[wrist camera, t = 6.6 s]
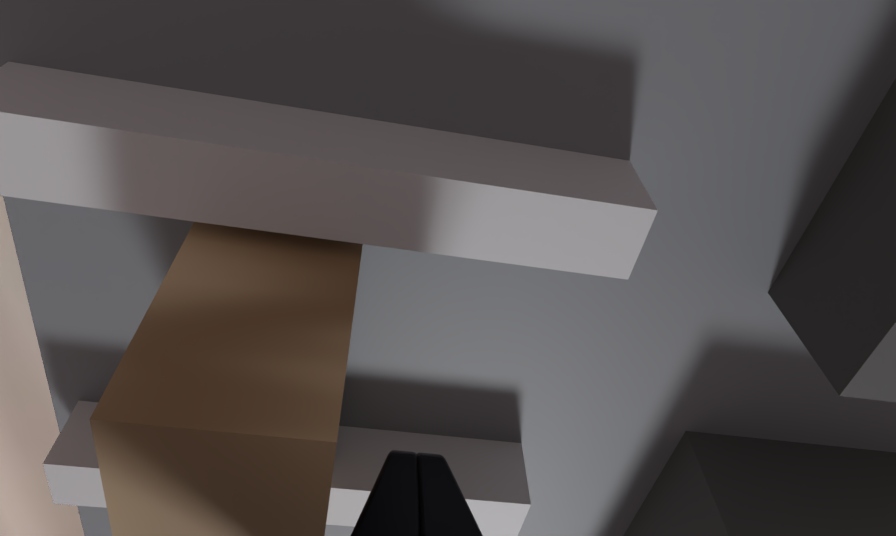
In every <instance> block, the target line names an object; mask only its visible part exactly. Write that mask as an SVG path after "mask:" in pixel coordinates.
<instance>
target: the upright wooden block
mask: <svg viewBox="0 0 896 536" xmlns="http://www.w3.org/2000/svg"><path fill="white" fill-rule="evenodd" d="M362 246H363V244H358V243H351V242H343V241H336V240H328V239H321V238H313V237H306V236H298V235H291V234H283V233H276V232H268V231H261V230H254V229H246V228H239V227H231V226H224V225H216V224H209V223H201V222H194V223H193V225H192V227H191V229H190V231H189V233H188V235H187V236H186V238H185V240H184V242H183V244H182V246H181V248H180V250H179V252H178V253H177V255H176V257H175V259H174V261H173V263H172V265H171V267H170V269H169V270H168V272H167V274H166V276H165V278H164V280H163V282H162V284H161V285H160V287H159V289H158V291H157V293H156V295H155V297H154V299H153V301H152V302H151V304H150V306H149V308H148V310H147V312H146V314H145V316H144V317H143V319H142V321H141V323H140V325H139V327H138V329H137V331H136V333H135V334H134V336H133V338H132V340H131V342H130V344H129V346H128V348H127V350H126V351H125V353H124V355H123V357H122V359H121V361H120V363H119V365H118V366H117V368H116V370H115V372H114V374H113V376H112V378H111V380H110V382H109V383H108V385H107V387H106V389H105V391H104V393H103V395H102V397H101V398H100V400H99V402H98V404H97V406H96V408H95V410H94V412H93V414H92V415H91V417H90V419H89V420H90V425H91V430H92V435H93V440H94V445H95V450H96V455H97V460H98V465H99V470H100V475H101V481H102V486H103V491H104V496H105V501H106V506H107V511H108V516H109V521H110V526H111V531H112V536H325V528H326V521H327V513H328V506H329V498H330V491H331V483H332V475H333V468H334V460H335V453H336V445H337V437H338V430H339V422H340V414H341V407H342V399H343V391H344V384H345V376H346V369H347V361H348V353H349V346H350V338H351V330H352V323H353V315H354V307H355V300H356V292H357V284H358V277H359V269H360V261H361V254H362Z"/></svg>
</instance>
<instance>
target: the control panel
mask: <svg viewBox="0 0 896 536" xmlns="http://www.w3.org/2000/svg"><path fill="white" fill-rule="evenodd" d="M0 196H3V198H4V202H5V206H6V210H7V214H8V218H9V223H10V227H11V231H12V235H13V239H14V243H15V248H16V252H17V256H18V260H19V264H20V268H21V273H22V277H23V281H24V285H25V289H26V293H27V298H28V302H29V306H30V310H31V314H32V318H33V323H34V327H35V331H36V335H37V339H38V343H39V348H40V352H41V356H42V360H43V364H44V368H45V373H46V377H47V381H48V385H49V389H50V393H51V398H52V402H53V406H54V410H55V414H56V418H57V423H58V427H59V431H60V434H59V436H58V438H57V440H56V441H55V443H54V445H53V447H52V449H51V450H50V452H49V454H48V456H47V457H46V459H45V461H44V463H43V466H44V470H45V473H46V477H47V481H48V484H49V488H50V492H51V495H52V499H53V503H54V504H63V505H77V506H78V510H79V514H80V518H81V523H82V527H83V531H84V535H85V536H112V531H111V526H110V521H109V516H108V511H107V506H106V501H105V496H104V491H103V486H102V481H101V475H100V470H99V465H98V460H97V455H96V450H95V445H94V440H93V435H92V430H91V425H90V420H89V419H90V417H91V415H92V414H93V412H94V410H95V408H96V406H97V404H98V402H99V400H100V398H101V397H102V395H103V393H104V391H105V389H106V387H107V385H108V383H109V382H110V380H111V378H112V376H113V374H114V372H115V370H116V368H117V366H118V365H119V363H120V361H121V359H122V357H123V355H124V353H125V351H126V350H127V348H128V346H129V344H130V342H131V340H132V338H133V336H134V334H135V333H136V331H137V329H138V327H139V325H140V323H141V321H142V319H143V317H144V316H145V314H146V312H147V310H148V308H149V306H150V304H151V302H152V301H153V299H154V297H155V295H156V293H157V291H158V289H159V287H160V285H161V284H162V282H163V280H164V278H165V276H166V274H167V272H168V270H169V269H170V267H171V265H172V263H173V261H174V259H175V257H176V255H177V253H178V252H179V250H180V248H181V246H182V244H183V242H184V240H185V238H186V236H187V235H188V233H189V231H190V229H191V227H192V225H193V223H194V222H201V223H209V224H216V225H224V226H231V227H239V228H246V229H254V230H261V231H268V232H276V233H283V234H291V235H298V236H306V237H313V238H321V239H328V240H336V241H343V242H351V243H358V244H363V246H362V254H361V261H360V269H359V277H358V284H357V292H356V300H355V307H354V315H353V323H352V330H351V338H350V346H349V353H348V361H347V369H346V376H345V384H344V391H343V399H342V407H341V414H340V422H339V430H338V437H337V445H336V453H335V460H334V468H333V475H332V483H331V491H330V498H329V506H328V513H327V521H326V528H325V536H351V534H352V531H353V529H354V527H355V525H356V523H357V520H358V518H359V516H360V514H361V512H362V510H363V507H364V505H365V503H366V501H367V499H368V496H369V494H370V492H371V490H372V488H373V486H374V483H375V481H376V479H377V477H378V475H379V472H380V470H381V468H382V466H383V464H384V462H385V459H386V457H387V455H388V453H389V452H390V451H392V450H399V451H410V452H415V453H416V454H417V453H420V452H421V453H432V454H440V455H442V456H443V457H444V458H445V459H446V461H447V463H448V465H449V467H450V469H451V471H452V473H453V475H454V477H455V479H456V481H457V483H458V485H459V487H460V489H461V492H462V494H463V496H464V498H465V500H466V502H467V504H468V506H469V508H470V510H471V512H472V514H473V516H474V518H475V520H476V522H477V524H478V527H479V529H480V531H481V533H482V535H483V536H896V0H0Z"/></svg>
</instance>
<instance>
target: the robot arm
mask: <svg viewBox="0 0 896 536" xmlns="http://www.w3.org/2000/svg"><path fill="white" fill-rule="evenodd" d="M351 536H483V535H482V533H481V531H480V529H479V527H478V524H477V522H476V520H475V518H474V516H473V514H472V512H471V510H470V508H469V506H468V504H467V502H466V500H465V498H464V496H463V494H462V492H461V489H460V487H459V485H458V483H457V481H456V479H455V477H454V475H453V473H452V471H451V469H450V467H449V465H448V463H447V461H446V459H445V458H444V457H443V456H442V455H440V454H432V453H421V452H420V453H417V454H416V453H415V452H410V451H399V450H392V451H390V452H389V453H388V455H387V457H386V459H385V462H384V464H383V466H382V468H381V470H380V472H379V475H378V477H377V479H376V481H375V483H374V486H373V488H372V490H371V492H370V494H369V496H368V499H367V501H366V503H365V505H364V507H363V510H362V512H361V514H360V516H359V518H358V520H357V523H356V525H355V527H354V529H353V531H352V534H351Z"/></svg>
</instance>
